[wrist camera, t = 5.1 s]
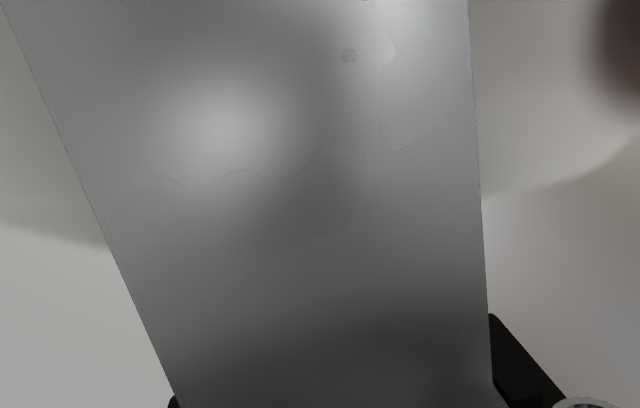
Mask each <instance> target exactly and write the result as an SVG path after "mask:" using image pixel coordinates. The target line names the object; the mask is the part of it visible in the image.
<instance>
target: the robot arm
mask: <svg viewBox="0 0 640 408" xmlns="http://www.w3.org/2000/svg"><path fill="white" fill-rule="evenodd" d="M488 319H489V334H490V349H491V364H492V379H493V385H494V386H495V388H496V389H497V391H498V392H499V394H500V395H501V397H502V398H503V400H504V401H505V402H506V404H507V405H508V407H509V408H619V407H617V406H615V405H613V404H611V403H608V402H606V401H603V400H599V399H595V398H591V397H572V398H566V397H565V396H564V394H563V393H562V392H561V391H560V390H559V388H558V387H557V386H556V385H555V384H554V383H553V381H552V380H551V379H550V378H549V377H548V376H547V374H546V373H545V372H544V371H543V370H542V369H541V367H540V366H539V365H538V364H537V363H536V362H535V361H534V359H533V358H532V357H531V356H530V355H529V353H528V352H527V351H526V350H525V349H524V348H523V347H522V345H521V344H520V343H519V342H518V341H517V340H516V338H515V337H514V336H513V335H512V334H511V333H510V331H509V330H508V329H507V328H506V327H505V326H504V324H503V323H502V322H501V321H500V320H499V319H498V318H497V317H496V316H495V315H494V314H491V313H490V314H488ZM168 408H180V405H179V403H178V401H177V399H176V396H175V395H174V396H173V397H172V398H171V399H170V401H169V404H168Z"/></svg>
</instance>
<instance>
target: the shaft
mask: <svg viewBox="0 0 640 408" xmlns="http://www.w3.org/2000/svg"><path fill="white" fill-rule="evenodd" d="M0 2H1V4H2V7H3V9H4V11H5V13H6V16H7V18H8V20H9V23H10V25H11V27H12V29H13V32H14V34H15V36H16V38H17V41H18V43H19V45H20V47H21V50H22V52H23V54H24V56H25V59H26V61H27V63H28V65H29V68H30V70H31V72H32V74H33V77H34V79H35V81H36V83H37V86H38V88H39V90H40V92H41V95H42V97H43V99H44V101H45V104H46V106H47V108H48V110H49V113H50V115H51V117H52V119H53V122H54V124H55V126H56V128H57V131H58V133H59V135H60V137H61V140H62V142H63V144H64V146H65V149H66V151H67V153H68V155H69V158H70V160H71V162H72V164H73V167H74V169H75V171H76V173H77V176H78V178H79V180H80V182H81V185H82V187H83V189H84V191H85V194H86V196H87V198H88V200H89V203H90V205H91V207H92V209H93V212H94V214H95V216H96V218H97V221H98V223H99V225H100V228H101V230H102V232H103V234H104V237H105V239H106V241H107V243H108V246H109V248H110V250H111V252H112V255H113V257H114V259H115V261H116V264H117V266H118V268H119V270H120V272H121V275H122V277H123V279H124V282H125V283H126V286H127V288H128V290H129V293H130V295H131V297H132V300H133V302H134V304H135V306H136V308H137V310H138V313H139V315H140V318H141V320H142V322H143V324H144V326H145V329H146V331H147V333H148V336H149V338H150V340H151V342H152V345H153V347H154V349H155V351H156V354H157V356H158V358H159V360H160V363H161V365H162V367H163V369H164V372H165V374H166V376H167V378H168V381H169V383H170V385H171V387H172V390H173V392H174V394H175V396H176V399H177V401H178V403H179V405H180V408H509V407H508V405H507V404H506V402H505V401H504V400H503V398H502V397H501V395H500V394H499V392H498V391H497V389H496V388H495V386H494V385H493V379H492V364H491V349H490V334H489V319H488V304H487V290H486V289H487V288H486V273H485V260H484V259H485V258H484V244H483V228H482V214H481V198H480V182H479V167H478V152H477V137H476V122H475V107H474V92H473V77H472V61H471V46H470V31H469V16H468V1H467V0H0Z"/></svg>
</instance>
